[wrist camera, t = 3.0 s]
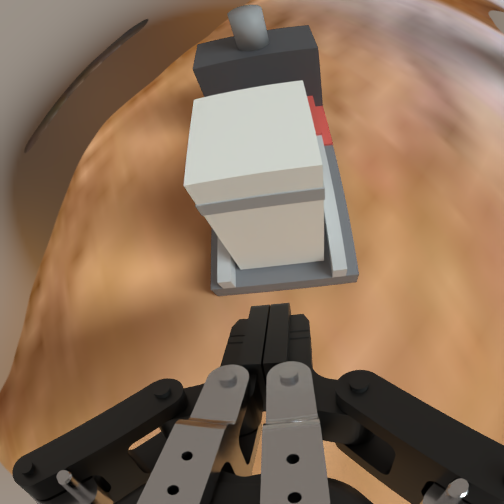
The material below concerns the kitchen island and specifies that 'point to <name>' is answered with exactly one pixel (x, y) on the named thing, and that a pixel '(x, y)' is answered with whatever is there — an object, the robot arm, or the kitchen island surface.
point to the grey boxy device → (308, 69)
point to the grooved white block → (258, 174)
